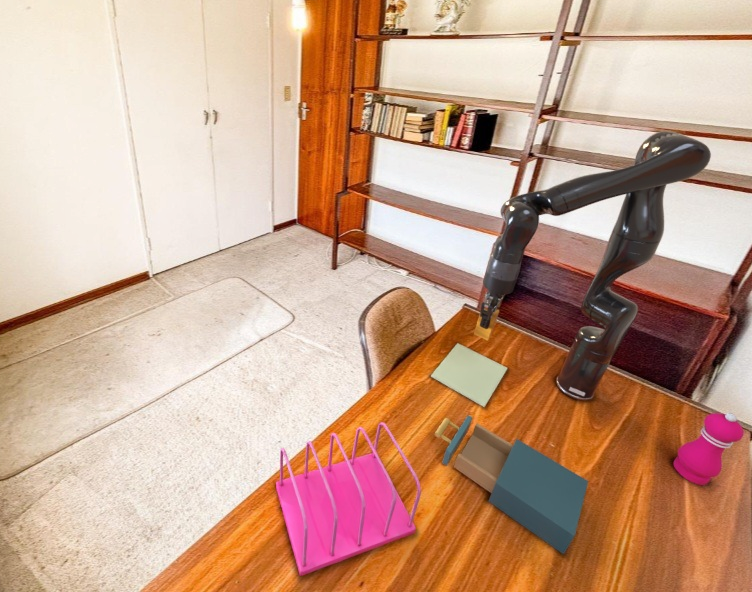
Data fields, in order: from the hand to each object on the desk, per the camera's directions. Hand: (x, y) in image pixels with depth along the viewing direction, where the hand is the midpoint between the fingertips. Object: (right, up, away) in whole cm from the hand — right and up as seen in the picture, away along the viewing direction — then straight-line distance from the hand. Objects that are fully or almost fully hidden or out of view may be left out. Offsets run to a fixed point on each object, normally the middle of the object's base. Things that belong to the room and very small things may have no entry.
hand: (486, 324), depth 111 cm
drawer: (-11, -28, -16) cm, 35 cm away
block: (0, -4, +2) cm, 4 cm away
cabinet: (-1, -34, -24) cm, 41 cm away
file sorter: (-44, -34, -27) cm, 62 cm away
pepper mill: (+41, -32, -17) cm, 55 cm away
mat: (0, -17, +10) cm, 20 cm away
